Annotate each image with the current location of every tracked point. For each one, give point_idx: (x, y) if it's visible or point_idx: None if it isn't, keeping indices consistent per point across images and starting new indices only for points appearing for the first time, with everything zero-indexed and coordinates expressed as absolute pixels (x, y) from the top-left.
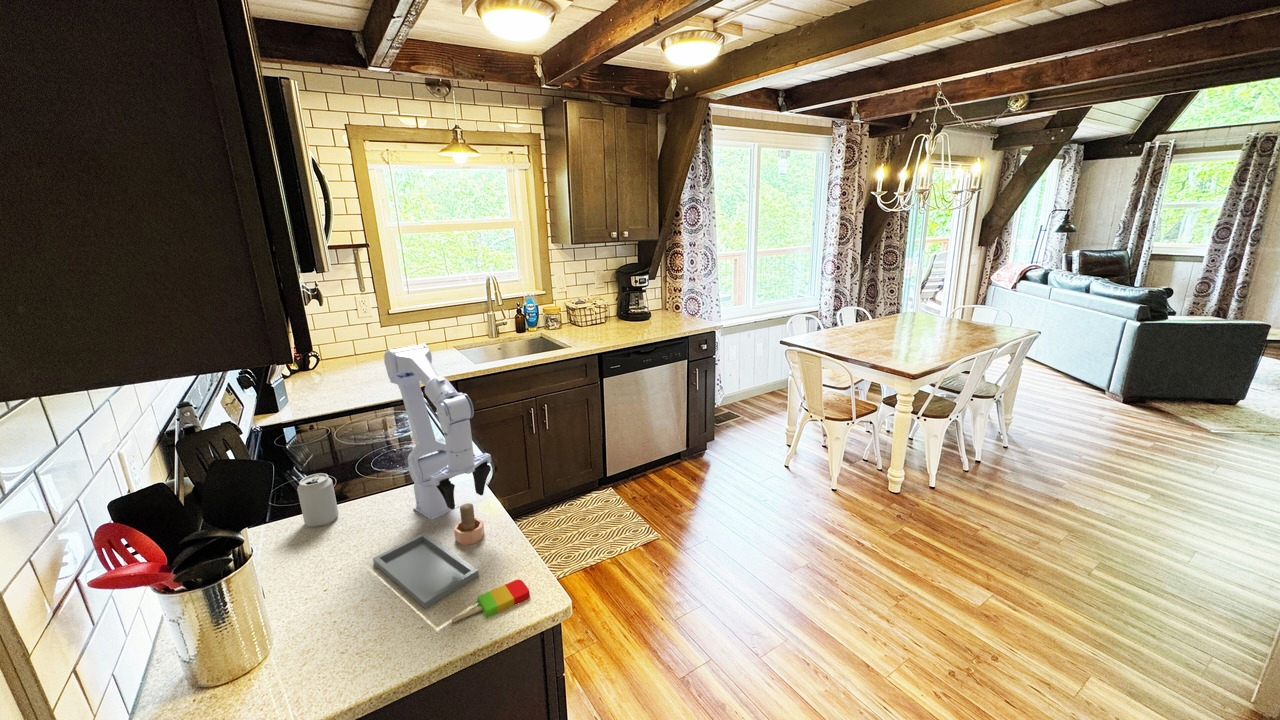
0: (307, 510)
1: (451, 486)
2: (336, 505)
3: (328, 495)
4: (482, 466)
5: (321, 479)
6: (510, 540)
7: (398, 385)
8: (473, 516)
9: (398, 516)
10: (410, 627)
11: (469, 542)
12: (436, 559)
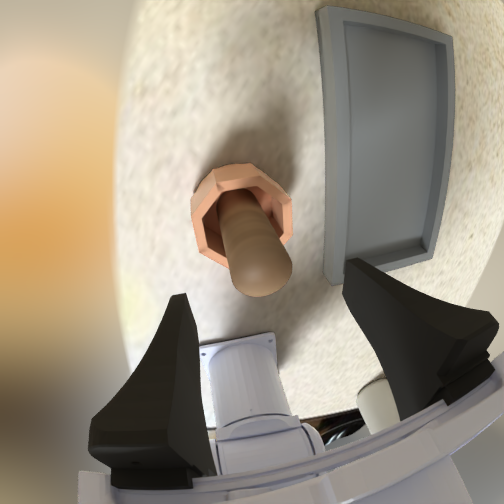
0: None
1: (476, 329)
2: (367, 406)
3: (389, 418)
4: (154, 469)
5: None
6: (138, 104)
7: None
8: (236, 227)
9: (307, 368)
10: (460, 32)
11: (259, 170)
12: (359, 168)
